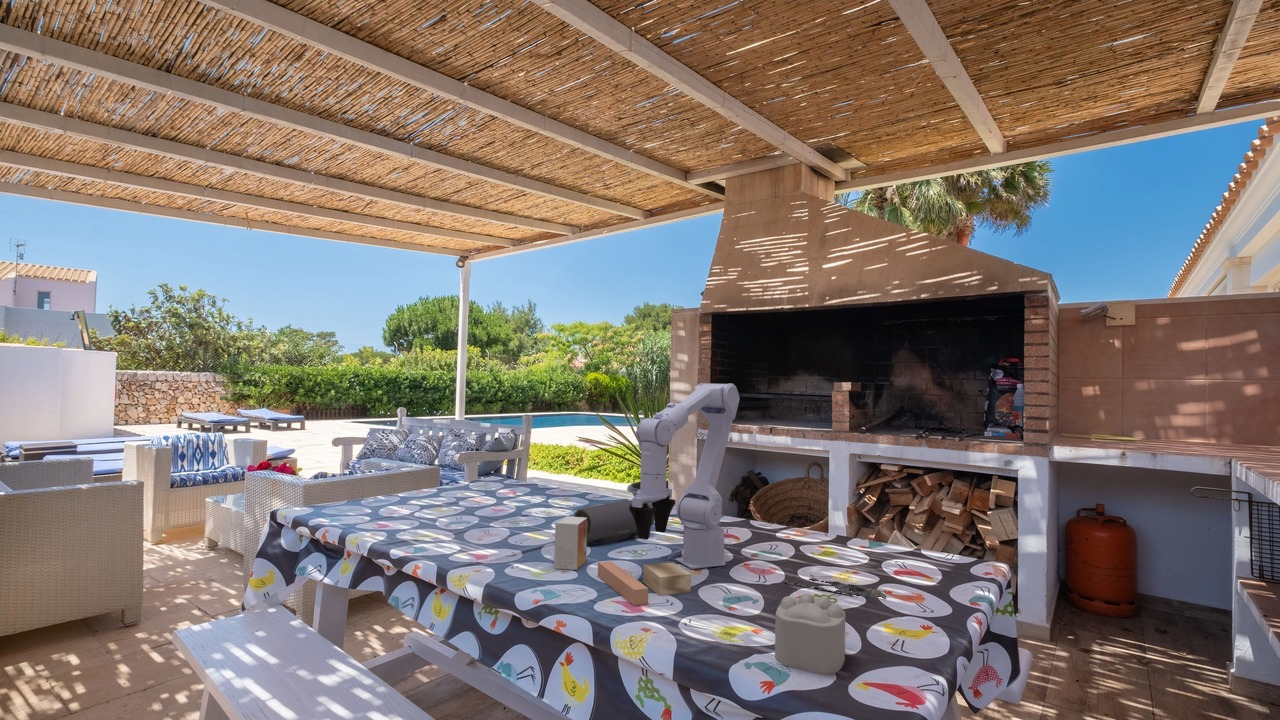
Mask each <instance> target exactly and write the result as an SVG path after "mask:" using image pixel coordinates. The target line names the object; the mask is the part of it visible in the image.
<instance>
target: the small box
mask: <svg viewBox="0 0 1280 720" xmlns="http://www.w3.org/2000/svg"><path fill="white" fill-rule="evenodd" d="M587 520H588V518H584V517H574V516H565V517H563V518H562V519H561V520H559V521H557V522H556V523H555V529H554V530H555V531H554V566H553V569H555V570H557V569H559V570H570V571H578V570H579V569H580V568H581V567H582V565H584V564H585V563H586V562H587V551H588V550H587V549H588V546H587V545H588V541H587Z"/></svg>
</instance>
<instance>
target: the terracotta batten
mask: <svg viewBox="0 0 1280 720" xmlns="http://www.w3.org/2000/svg"><path fill="white" fill-rule="evenodd" d="M597 577H599V578H600V580H602V581H603V582H605V583H606V585H608V586H609V587H610V588H612V589H613V590H614V591H616V592H617V593H618V594H619V595H620V596H621V597H622V598H624V599H625V600H626V601H628V602H629V603H630V604H631V605H632V606H634V607H635V606H642V605H648V604H649V588H650V587H648V586H647V585H646V584H643V583H642V582H641V581H639V580H638V579H636V578H635V577H634V576H632V575H631V574H629V573H628V572H626V571H625V570H624V569H622V568H621V567H620V566H618V565H617V564H616V563H614V562H612V560H609V561H607V560H606V561H599V562H597Z"/></svg>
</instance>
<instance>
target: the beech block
mask: <svg viewBox="0 0 1280 720" xmlns="http://www.w3.org/2000/svg"><path fill="white" fill-rule="evenodd" d="M642 567H643V568H642V569H643V570H642V571H643V573H642V576H643V578H642V580H643V581H642V582H643V583H644V585H645V586H646V587H647V588H650V589H651V590H652V591H653V592H654V593H656V594H657V595H658V596H670V595H679V594H687V593H688V594H689V593H691V592H692V591H691V590H692V589H691V588H692V573H690V572H689V571H687V570H685V569H684V568H682V567H681V566H680V565H678V564H676V563H675V562H662V563H651V564H650V563H649V564H643V566H642ZM643 583H642V584H643Z"/></svg>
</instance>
